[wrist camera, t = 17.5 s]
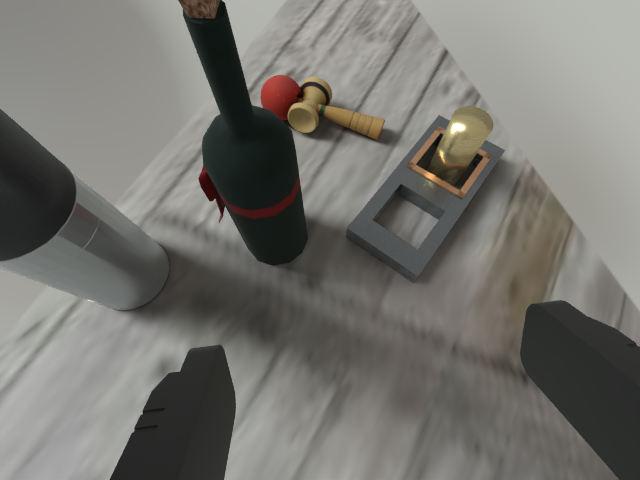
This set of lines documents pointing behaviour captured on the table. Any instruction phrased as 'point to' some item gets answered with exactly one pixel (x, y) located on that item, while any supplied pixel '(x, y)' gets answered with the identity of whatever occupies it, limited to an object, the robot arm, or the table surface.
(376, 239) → the grey flat frame
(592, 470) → the table surface
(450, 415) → the table surface
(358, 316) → the table surface
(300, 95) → the kendama
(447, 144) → the brass peg
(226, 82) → the wine bottle
